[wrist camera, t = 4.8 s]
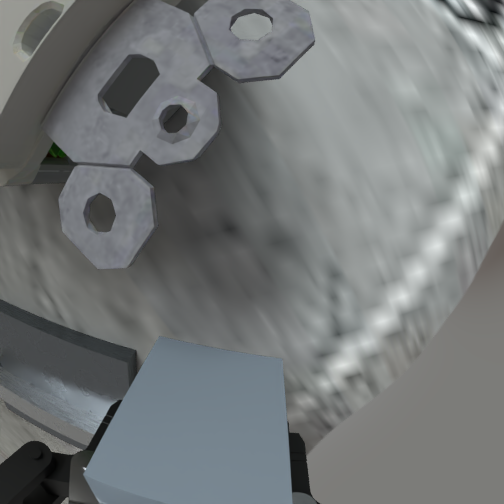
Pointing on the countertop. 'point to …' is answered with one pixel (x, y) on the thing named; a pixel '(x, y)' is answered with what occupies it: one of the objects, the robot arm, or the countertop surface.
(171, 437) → the block
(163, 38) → the electrical outlet
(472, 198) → the countertop surface
